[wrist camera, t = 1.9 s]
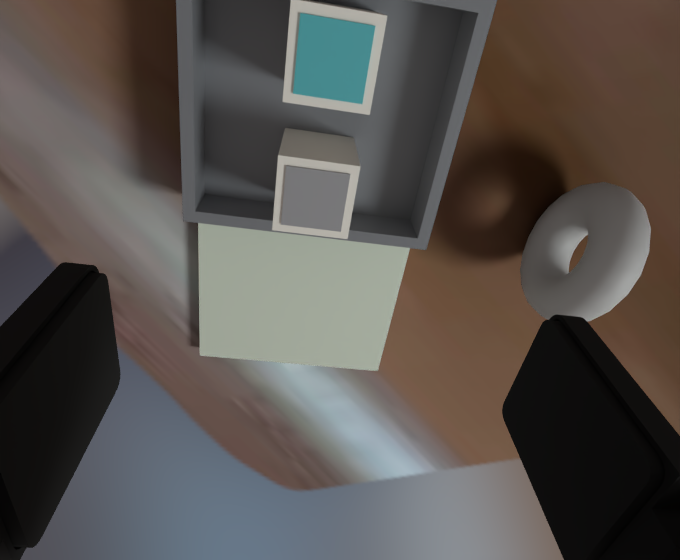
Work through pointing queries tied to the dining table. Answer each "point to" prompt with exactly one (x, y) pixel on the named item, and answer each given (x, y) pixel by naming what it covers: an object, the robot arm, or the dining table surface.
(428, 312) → the dining table surface
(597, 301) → the donut
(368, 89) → the teal label box
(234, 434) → the dining table surface
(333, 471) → the dining table surface
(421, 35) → the parts bin
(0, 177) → the dining table surface
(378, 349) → the sage board
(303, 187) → the grey label box
